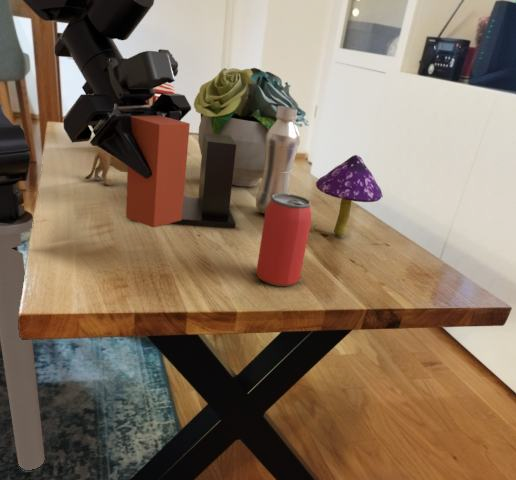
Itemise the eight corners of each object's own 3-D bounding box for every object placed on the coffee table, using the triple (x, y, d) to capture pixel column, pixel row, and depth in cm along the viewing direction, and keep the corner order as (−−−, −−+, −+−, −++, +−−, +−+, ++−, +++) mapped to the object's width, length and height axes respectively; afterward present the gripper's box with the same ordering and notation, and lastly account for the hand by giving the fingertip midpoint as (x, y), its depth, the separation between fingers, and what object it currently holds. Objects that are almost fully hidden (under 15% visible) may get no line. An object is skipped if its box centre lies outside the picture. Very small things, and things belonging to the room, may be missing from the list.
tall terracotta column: (125, 217, 70) (128, 115, 63) (155, 210, 75) (160, 115, 68) (153, 228, 68) (159, 124, 61) (181, 220, 73) (190, 123, 66)
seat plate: (134, 221, 89) (135, 136, 82) (135, 197, 100) (136, 121, 93) (235, 228, 93) (245, 148, 86) (225, 205, 104) (233, 133, 97)
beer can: (285, 292, 72) (301, 210, 66) (247, 277, 75) (258, 196, 69) (306, 279, 78) (322, 201, 71) (269, 265, 80) (282, 189, 74)
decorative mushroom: (300, 238, 94) (317, 153, 86) (312, 220, 104) (328, 143, 96) (367, 253, 92) (390, 168, 84) (372, 233, 102) (393, 156, 94)
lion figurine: (156, 183, 111) (158, 140, 106) (158, 190, 106) (159, 145, 102) (85, 178, 107) (84, 132, 102) (84, 185, 102) (82, 138, 98)
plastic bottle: (257, 206, 107) (272, 103, 96) (289, 213, 106) (307, 109, 96) (251, 215, 101) (266, 106, 91) (284, 221, 100) (303, 112, 90)
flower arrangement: (253, 168, 137) (267, 66, 124) (310, 196, 120) (332, 81, 107) (169, 168, 124) (174, 54, 111) (219, 200, 107) (232, 69, 94)
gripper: (75, 11, 53) (152, 144, 55) (184, 27, 68) (243, 132, 69) (31, 80, 61) (101, 197, 62) (138, 82, 75) (193, 176, 77)
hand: (165, 173), depth 67 cm, fingers closed on tall terracotta column, 6 cm apart
